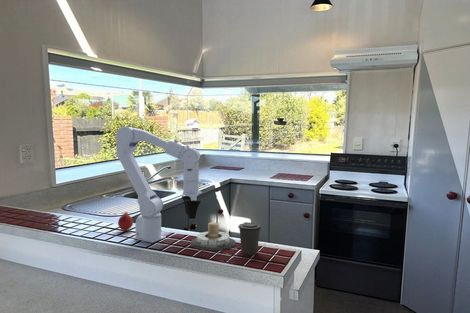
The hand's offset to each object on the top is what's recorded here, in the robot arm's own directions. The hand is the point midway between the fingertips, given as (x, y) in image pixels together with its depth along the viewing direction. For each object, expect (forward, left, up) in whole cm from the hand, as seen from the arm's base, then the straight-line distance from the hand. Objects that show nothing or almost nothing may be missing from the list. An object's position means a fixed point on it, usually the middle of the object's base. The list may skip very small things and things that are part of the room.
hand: (190, 216), depth 126 cm
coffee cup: (+25, 0, -10) cm, 27 cm away
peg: (+9, +2, -9) cm, 13 cm away
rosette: (+9, +2, -9) cm, 13 cm away
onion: (-30, -4, -10) cm, 32 cm away
